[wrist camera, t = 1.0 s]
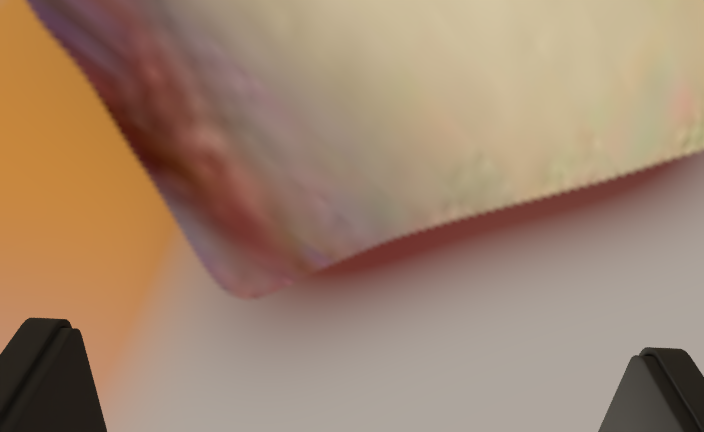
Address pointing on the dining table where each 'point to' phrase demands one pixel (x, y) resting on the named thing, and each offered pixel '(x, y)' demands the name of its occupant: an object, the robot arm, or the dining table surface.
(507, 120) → the dining table surface
